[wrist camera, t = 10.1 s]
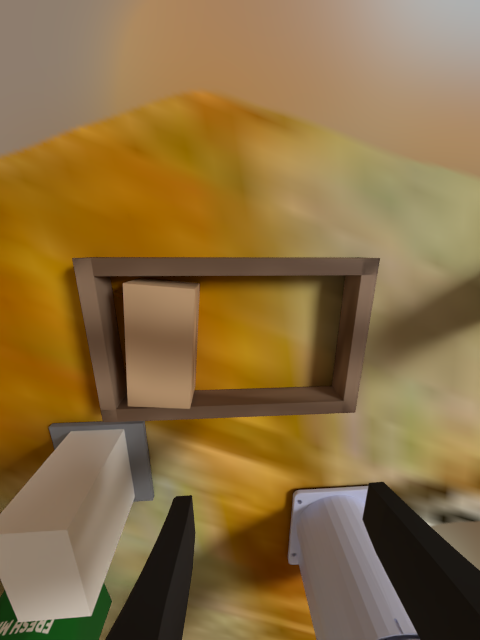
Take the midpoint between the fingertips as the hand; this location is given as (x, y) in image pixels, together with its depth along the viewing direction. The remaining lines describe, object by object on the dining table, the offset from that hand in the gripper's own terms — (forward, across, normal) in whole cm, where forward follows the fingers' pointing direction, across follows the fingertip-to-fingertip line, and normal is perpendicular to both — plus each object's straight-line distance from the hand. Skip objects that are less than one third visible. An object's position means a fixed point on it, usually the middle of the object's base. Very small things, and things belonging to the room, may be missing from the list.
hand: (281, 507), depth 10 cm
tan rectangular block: (+10, +6, -4) cm, 12 cm away
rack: (+9, +1, -4) cm, 10 cm away
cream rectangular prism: (+9, +12, +7) cm, 17 cm away
